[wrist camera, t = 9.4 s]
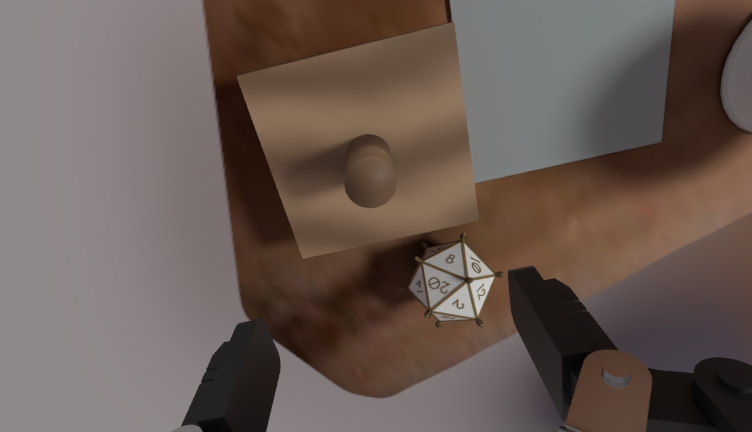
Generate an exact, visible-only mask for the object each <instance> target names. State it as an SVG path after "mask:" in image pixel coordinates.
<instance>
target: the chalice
mask: <svg viewBox="0 0 752 432" xmlns="http://www.w3.org/2000/svg"><path fill="white" fill-rule="evenodd" d="M720 94H721V99H722V104H723V108H724V110H725V112H726V114H727V115H728V117H729V119H730V120H731V121H732V122H733V123H734V124H736V125H737V126H738V127H739V128H741V129H743V130H746V131H748V132H750V133H752V20H751V21H750V22H749V23H748V24H747V25H746V27H745V28H744V30H743V31H742V33H741V34H740V35H739V37H738V38H737V40H736V41H735V43H734V45H733V47H732V49H731V51H730V53H729V55H728V57H727V59H726V62H725V66H724V70H723V73H722V77H721V93H720Z"/></svg>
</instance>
